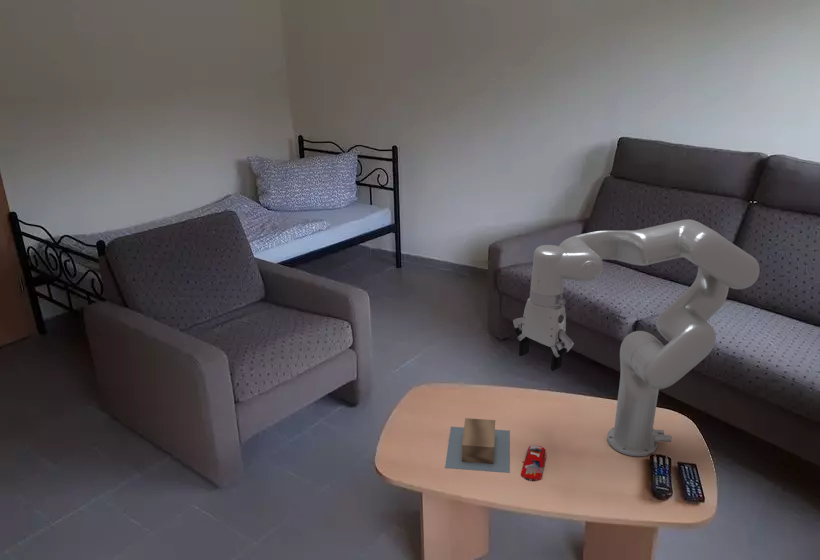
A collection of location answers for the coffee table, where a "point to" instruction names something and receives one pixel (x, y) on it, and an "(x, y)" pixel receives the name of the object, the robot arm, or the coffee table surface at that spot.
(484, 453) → the walnut block
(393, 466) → the coffee table surface
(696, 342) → the robot arm
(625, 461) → the coffee table surface
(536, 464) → the race car
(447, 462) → the base plate
